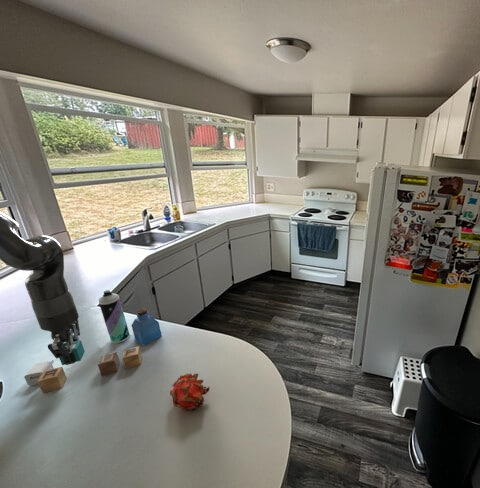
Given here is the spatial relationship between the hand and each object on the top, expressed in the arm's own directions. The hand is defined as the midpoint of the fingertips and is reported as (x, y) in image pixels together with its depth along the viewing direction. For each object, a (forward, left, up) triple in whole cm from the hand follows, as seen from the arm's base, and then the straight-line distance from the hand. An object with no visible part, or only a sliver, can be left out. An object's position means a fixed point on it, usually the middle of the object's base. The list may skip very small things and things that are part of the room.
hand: (73, 357), depth 74 cm
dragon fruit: (+29, -24, -8) cm, 39 cm away
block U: (+7, 0, -8) cm, 11 cm away
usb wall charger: (-10, +6, -8) cm, 14 cm away
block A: (-6, 0, -8) cm, 10 cm away
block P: (+13, 0, -8) cm, 15 cm away
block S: (0, 0, 0) cm, 0 cm away
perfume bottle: (+16, +12, -8) cm, 22 cm away
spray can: (+7, +16, -8) cm, 19 cm away
